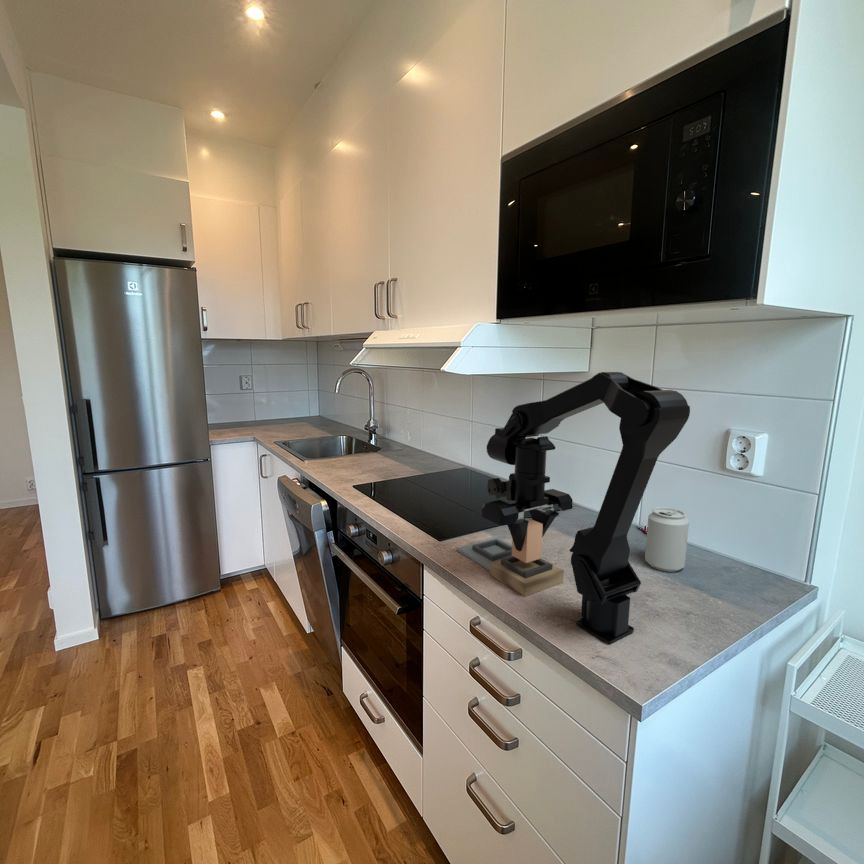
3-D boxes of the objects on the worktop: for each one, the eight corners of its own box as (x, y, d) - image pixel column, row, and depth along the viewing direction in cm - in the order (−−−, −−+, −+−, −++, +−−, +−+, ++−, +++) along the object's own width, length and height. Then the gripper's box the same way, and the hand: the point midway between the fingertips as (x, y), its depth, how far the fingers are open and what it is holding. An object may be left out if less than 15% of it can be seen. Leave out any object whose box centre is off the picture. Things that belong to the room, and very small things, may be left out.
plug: (541, 558, 88) (542, 523, 87) (526, 563, 86) (527, 527, 85) (526, 551, 92) (528, 517, 90) (511, 555, 89) (512, 521, 88)
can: (636, 560, 98) (640, 507, 96) (662, 555, 100) (667, 503, 98) (665, 576, 91) (670, 518, 89) (692, 570, 93) (698, 514, 92)
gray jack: (533, 558, 99) (533, 551, 98) (490, 571, 92) (490, 564, 92) (497, 539, 109) (497, 533, 108) (456, 550, 102) (456, 543, 102)
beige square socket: (563, 582, 88) (564, 565, 87) (525, 596, 83) (525, 578, 82) (526, 563, 96) (527, 547, 96) (489, 574, 91) (490, 558, 90)
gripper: (535, 457, 98) (532, 526, 100) (465, 467, 88) (463, 543, 90) (576, 467, 88) (571, 543, 91) (503, 480, 79) (500, 565, 81)
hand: (526, 548), depth 89 cm, fingers closed on plug, 4 cm apart
